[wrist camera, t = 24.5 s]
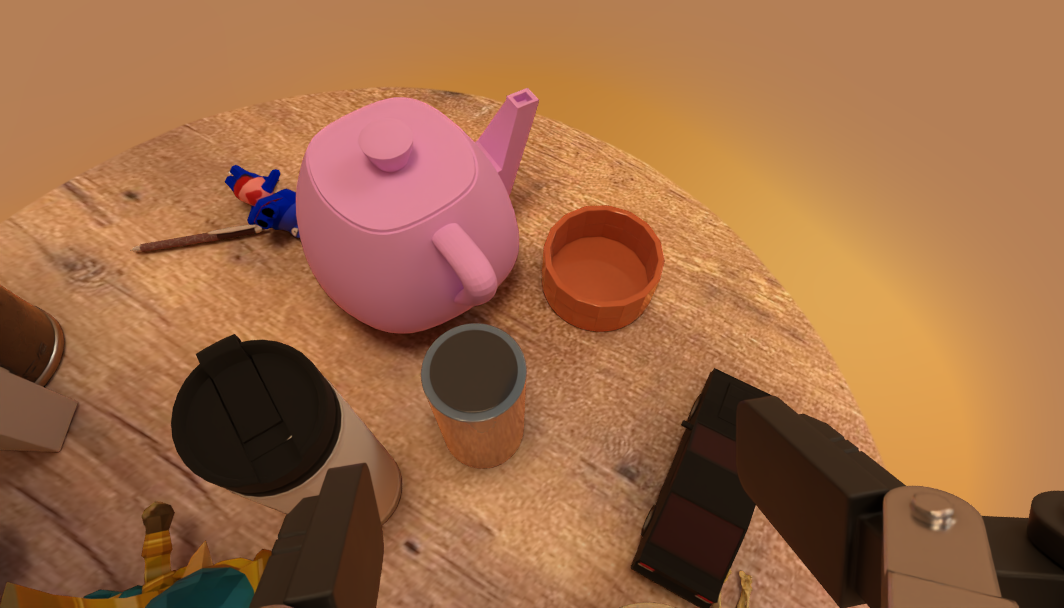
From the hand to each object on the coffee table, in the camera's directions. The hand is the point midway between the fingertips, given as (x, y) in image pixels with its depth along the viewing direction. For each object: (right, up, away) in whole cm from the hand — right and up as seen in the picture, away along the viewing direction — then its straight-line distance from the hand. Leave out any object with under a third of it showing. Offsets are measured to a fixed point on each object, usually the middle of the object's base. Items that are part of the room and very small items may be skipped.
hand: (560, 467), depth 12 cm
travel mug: (-13, -10, +29) cm, 33 cm away
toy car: (+12, -10, +30) cm, 34 cm away
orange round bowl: (+5, +5, +38) cm, 38 cm away
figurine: (-26, +15, +38) cm, 49 cm away
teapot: (-8, +7, +38) cm, 39 cm away
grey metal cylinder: (-4, -6, +31) cm, 32 cm away
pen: (-29, +9, +38) cm, 49 cm away
